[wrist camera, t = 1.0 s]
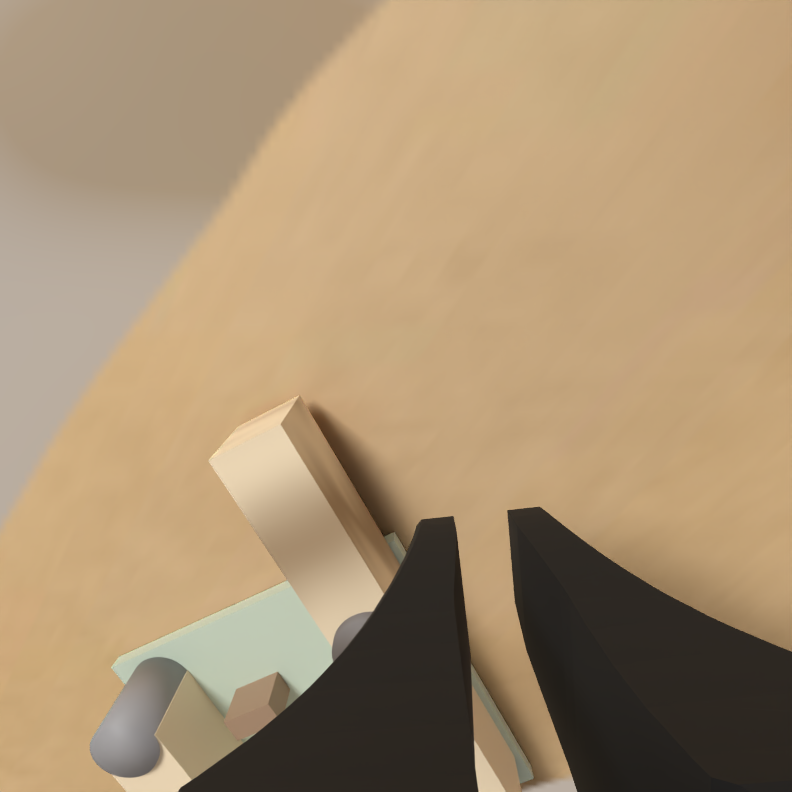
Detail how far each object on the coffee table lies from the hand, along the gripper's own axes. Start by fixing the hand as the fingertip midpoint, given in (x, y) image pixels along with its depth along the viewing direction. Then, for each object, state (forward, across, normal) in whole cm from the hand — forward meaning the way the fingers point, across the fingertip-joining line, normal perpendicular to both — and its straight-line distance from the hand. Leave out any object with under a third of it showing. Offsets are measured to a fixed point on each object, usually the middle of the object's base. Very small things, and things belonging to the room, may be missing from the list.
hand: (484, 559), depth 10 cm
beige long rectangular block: (+9, +5, +3) cm, 10 cm away
